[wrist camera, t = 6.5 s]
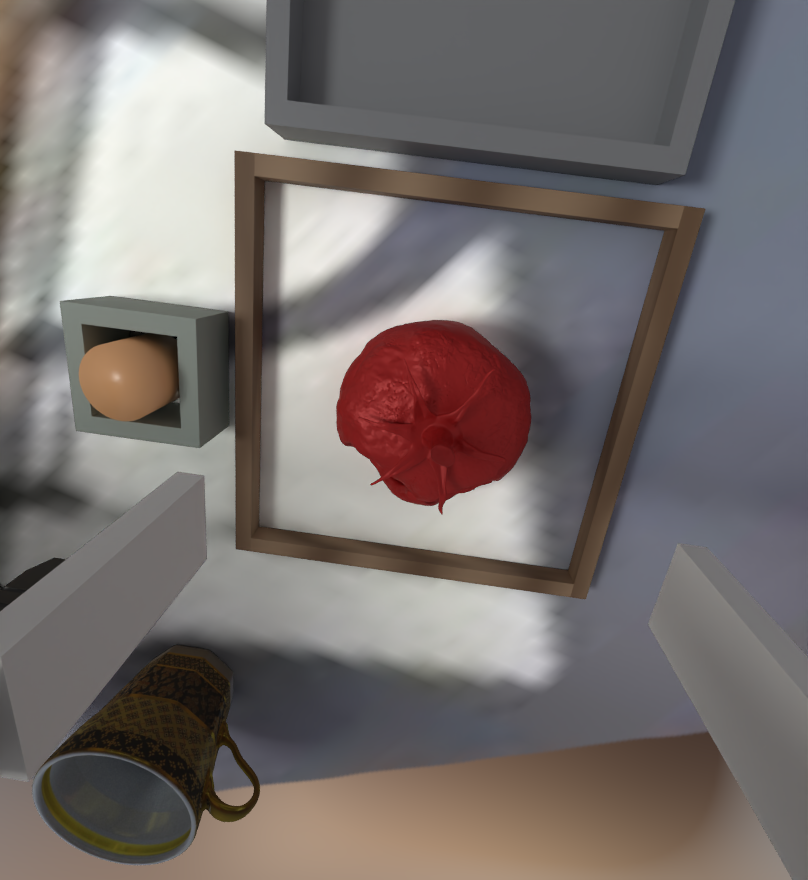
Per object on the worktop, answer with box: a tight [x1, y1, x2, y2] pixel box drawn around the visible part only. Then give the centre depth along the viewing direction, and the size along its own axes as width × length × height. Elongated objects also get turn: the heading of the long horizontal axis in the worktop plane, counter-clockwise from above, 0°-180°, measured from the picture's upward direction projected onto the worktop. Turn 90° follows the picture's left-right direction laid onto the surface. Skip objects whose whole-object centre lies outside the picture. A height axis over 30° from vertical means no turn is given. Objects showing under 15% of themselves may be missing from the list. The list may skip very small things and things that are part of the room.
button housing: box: [60, 296, 229, 448], centre depth 27 cm, size 7×7×4 cm
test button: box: [79, 333, 180, 421], centre depth 26 cm, size 4×4×4 cm
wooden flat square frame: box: [235, 151, 705, 599], centre depth 28 cm, size 23×23×2 cm
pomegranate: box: [336, 320, 531, 514], centre depth 25 cm, size 10×10×9 cm
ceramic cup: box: [32, 645, 260, 865], centre depth 33 cm, size 13×10×10 cm
